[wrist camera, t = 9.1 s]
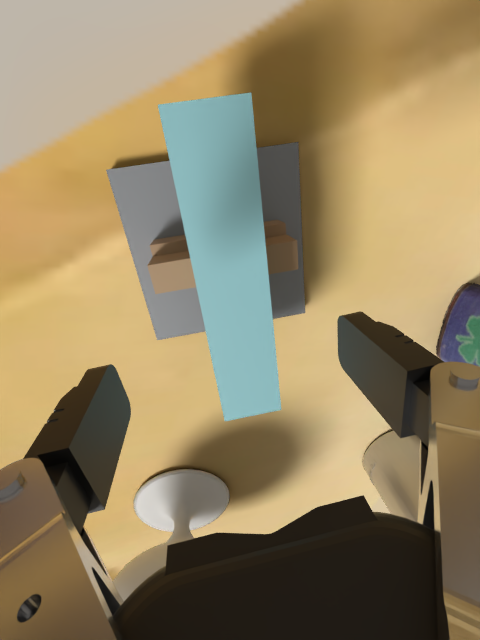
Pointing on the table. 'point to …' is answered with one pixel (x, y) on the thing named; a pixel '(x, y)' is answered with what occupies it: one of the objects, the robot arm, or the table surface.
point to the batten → (226, 244)
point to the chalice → (172, 517)
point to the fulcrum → (172, 250)
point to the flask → (461, 327)
